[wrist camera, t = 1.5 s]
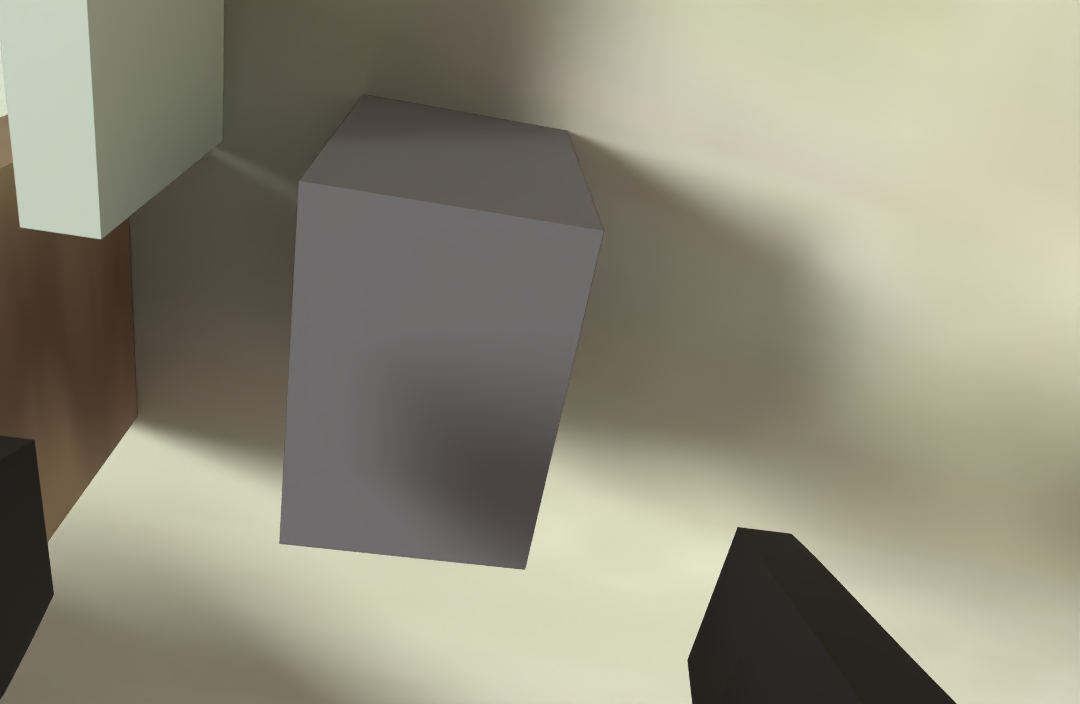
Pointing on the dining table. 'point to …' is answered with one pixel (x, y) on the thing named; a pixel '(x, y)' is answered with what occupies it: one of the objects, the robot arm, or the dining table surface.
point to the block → (432, 332)
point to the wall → (63, 346)
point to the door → (107, 104)
